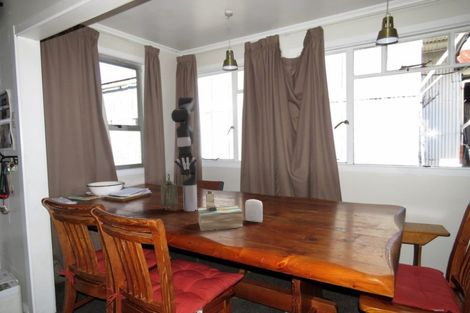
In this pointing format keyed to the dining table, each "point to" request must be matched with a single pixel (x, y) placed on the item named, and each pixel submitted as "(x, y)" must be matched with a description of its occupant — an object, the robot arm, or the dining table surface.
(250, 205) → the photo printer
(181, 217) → the dining table surface
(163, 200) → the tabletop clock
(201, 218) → the rectangular block
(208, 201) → the wooden knobbed block
